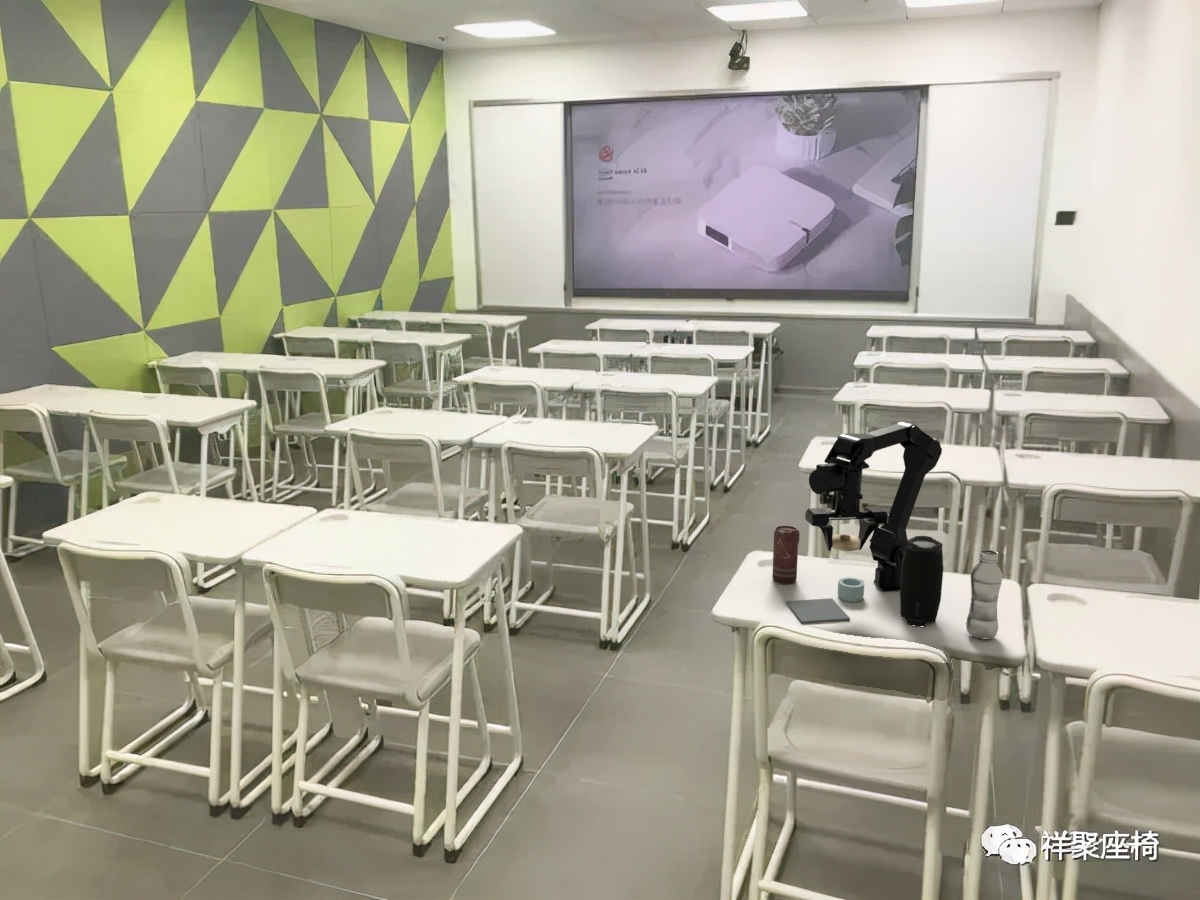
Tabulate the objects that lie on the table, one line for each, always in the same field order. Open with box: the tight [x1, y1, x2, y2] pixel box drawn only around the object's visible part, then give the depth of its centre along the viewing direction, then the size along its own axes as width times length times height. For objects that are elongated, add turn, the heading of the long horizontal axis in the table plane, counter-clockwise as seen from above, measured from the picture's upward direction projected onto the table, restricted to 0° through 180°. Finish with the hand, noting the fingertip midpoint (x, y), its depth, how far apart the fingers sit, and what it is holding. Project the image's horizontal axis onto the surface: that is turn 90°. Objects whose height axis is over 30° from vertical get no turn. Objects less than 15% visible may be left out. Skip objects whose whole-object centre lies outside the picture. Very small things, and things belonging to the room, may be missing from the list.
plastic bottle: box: [965, 549, 1004, 639], centre depth 209 cm, size 6×7×20 cm
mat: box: [785, 597, 851, 625], centre depth 225 cm, size 12×12×1 cm
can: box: [771, 525, 801, 585], centre depth 242 cm, size 6×6×14 cm
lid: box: [831, 533, 861, 552], centre depth 227 cm, size 7×7×2 cm
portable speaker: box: [899, 535, 944, 627], centre depth 217 cm, size 9×9×20 cm
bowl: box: [837, 577, 865, 603], centre depth 232 cm, size 6×6×4 cm
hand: (844, 549), depth 227 cm, fingers closed on lid, 7 cm apart
